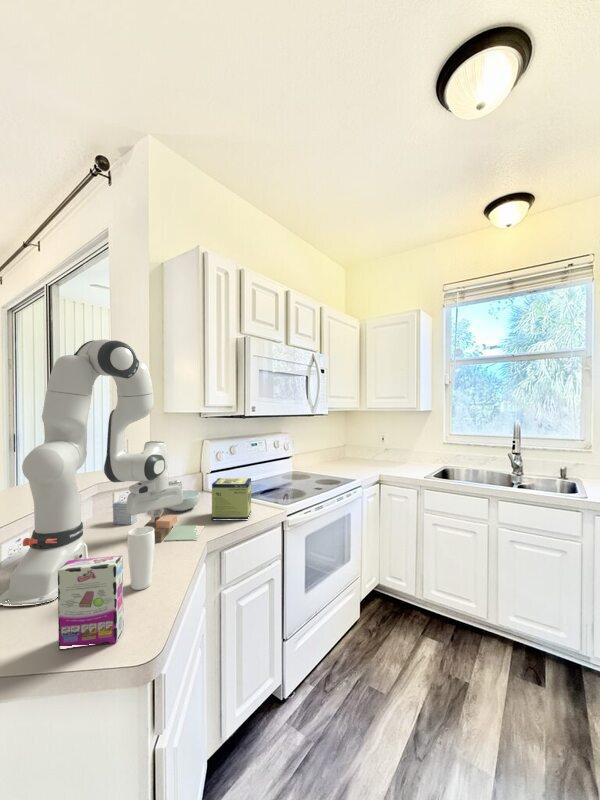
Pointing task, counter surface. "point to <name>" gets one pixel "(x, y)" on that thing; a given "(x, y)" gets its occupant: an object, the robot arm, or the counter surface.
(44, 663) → the counter surface
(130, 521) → the medicine box
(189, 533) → the sage mat
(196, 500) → the cereal bowl
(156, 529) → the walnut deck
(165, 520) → the terracotta tile
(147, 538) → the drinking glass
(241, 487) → the protein box
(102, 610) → the candy bar box
